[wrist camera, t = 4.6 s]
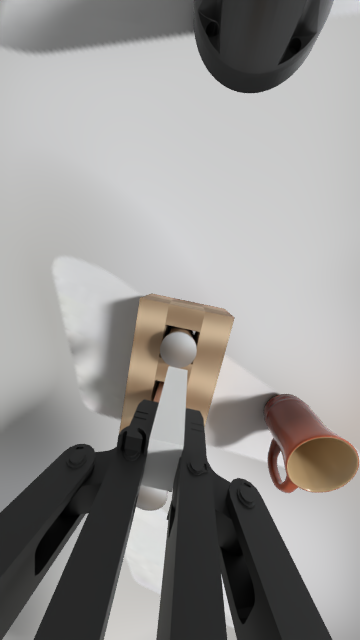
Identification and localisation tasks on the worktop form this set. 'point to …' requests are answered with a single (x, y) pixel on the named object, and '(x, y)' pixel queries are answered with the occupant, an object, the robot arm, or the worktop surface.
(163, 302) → the socket board
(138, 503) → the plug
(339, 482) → the mug
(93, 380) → the worktop surface
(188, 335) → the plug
